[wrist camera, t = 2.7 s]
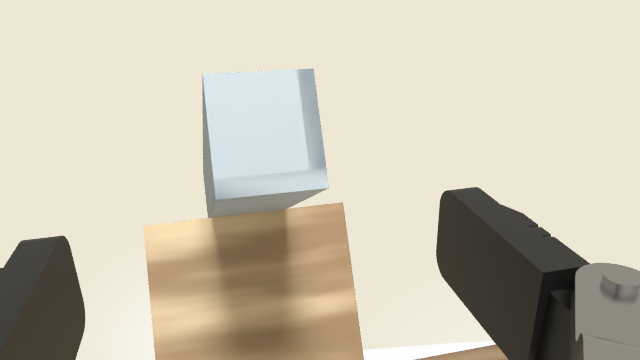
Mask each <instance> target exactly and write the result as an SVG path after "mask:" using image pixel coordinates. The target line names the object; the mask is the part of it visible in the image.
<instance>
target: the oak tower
mask: <svg viewBox="0 0 640 360" xmlns="http://www.w3.org/2000/svg"><path fill="white" fill-rule="evenodd" d="M144 236H145V247H146V257H147V269H148V281H149V292H150V303H151V314H152V324H153V336H154V347H155V358H156V360H364V358H363V350H362V343H361V335H360V327H359V320H358V313H357V305H356V297H355V290H354V283H353V275H352V267H351V260H350V252H349V245H348V237H347V230H346V222H345V214H344V207H343V203H334V204H325V205H318V206H308V207H300V208H292V209H282V210H274V211H265V212H257V213H248V214H239V215H231V216H222V217H214V218H205V219H196V220H188V221H179V222H171V223H162V224H153V225H145V226H144Z"/></svg>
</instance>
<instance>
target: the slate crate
mask: <svg viewBox="0 0 640 360" xmlns="http://www.w3.org/2000/svg"><path fill="white" fill-rule="evenodd" d="M202 80H203V173H204V183H205V191H206V192H205V193H206V202H207V212H208V218H214V217H222V216H231V215H239V214H248V213H257V212H265V211H274V210H282V209H287V208H289V207H291V206H293V205H295V204H297V203H299V202H301V201H304V200H306V199H307V198H309V197H312V196H314V195H316V194H318V193H320V192H322V191H324V190H326V189H328V188H329V186H328V178H327V171H326V162H325V155H324V147H323V139H322V131H321V125H320V116H319V109H318V101H317V93H316V85H315V77H314V70H313V69H299V70H278V71H258V72H238V73H217V74H203V76H202Z"/></svg>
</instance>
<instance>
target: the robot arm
mask: <svg viewBox="0 0 640 360" xmlns="http://www.w3.org/2000/svg"><path fill="white" fill-rule="evenodd" d="M436 256H437V263H438V267H439V270H440V273H441V275H442V277H443V278H444V280H445V281H446V282H447V283H448V285H449V286H450V287H451V288H452V290H453V291H454V292H455V293H456V295H457V296H458V297H459V298H460V300H461V301H462V302H463V303H464V305H465V306H466V307H467V308H468V310H469V311H470V312H471V313H472V315H473V316H474V317H475V318H476V320H477V321H478V322H479V323H480V325H481V326H482V327H483V328H484V330H485V331H486V332H487V333H488V334H489V336H490V337H491V338H492V340H493V341H494V342H495V343H496V345H497V346H498V347H499V348H500V350H501V351H502V352H503V353H504V355H505V356H506V357H507V358H508V360H640V271H638V270H635V269H633V268H629V267H626V266H621V265H617V264H609V263H594V264H590V263H588V262H587V261H586V260H584V259H583V258H582V257H580V256H579V255H578V254H576V253H575V252H574V251H572V250H571V249H569V248H568V247H567V246H565V245H564V244H563V243H562V242H560V241H559V240H558V239H556V238H555V237H551V234H550V233H548V232H547V231H546V230H544V229H543V228H541V227H538V224H536V223H535V222H533V221H532V220H531V219H529V218H528V217H527V216H525V215H524V214H523V213H520V212H518V211H515V210H513V209H510V208H508V207H506V206H503V205H500V204H499V203H498V202H497V201H495V200H494V199H493V198H491V197H490V196H489V195H487V194H486V193H485V192H484V191H482V190H481V189H479V188H477V187H474V188H465V189H457V190H448V191H445V192H444V193H443V194H442V196H441V199H440V209H439V223H438V236H437V250H436ZM84 328H85V308H84V302H83V298H82V294H81V289H80V285H79V281H78V277H77V273H76V269H75V265H74V261H73V257H72V253H71V249H70V245H69V242H68V240H67V239H66V237H64V236H57V237H48V238H40V239H31V240H23V241H21V242H20V243H19V244H18V246H17V247H16V249H15V251H14V252H13V254H12V255H11V257H10V258H9V260H8V261H7V263H6V265H5V266H4V268H0V360H75V359H76V356H77V352H78V349H79V346H80V343H81V339H82V336H83V332H84Z"/></svg>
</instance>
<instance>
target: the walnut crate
mask: <svg viewBox="0 0 640 360" xmlns="http://www.w3.org/2000/svg"><path fill="white" fill-rule="evenodd" d="M416 360H508V358H507V357H506V356H505V355H504V353H503V352H502V351H501V350H500V348H499V347H498V346H497V345H491V346H486V347H481V348H475V349H470V350H464V351H459V352H454V353H448V354H443V355H438V356H432V357H427V358H421V359H416Z"/></svg>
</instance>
